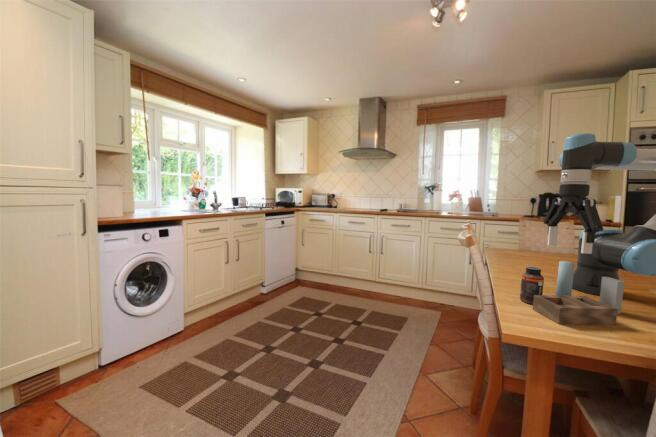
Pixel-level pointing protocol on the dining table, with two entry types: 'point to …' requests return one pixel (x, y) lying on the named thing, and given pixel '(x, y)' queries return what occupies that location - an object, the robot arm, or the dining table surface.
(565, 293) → the dowel bit
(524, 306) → the dining table surface
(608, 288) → the grey rectangular block
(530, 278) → the supplement bottle
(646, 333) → the dining table surface
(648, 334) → the dining table surface
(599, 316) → the socket block
